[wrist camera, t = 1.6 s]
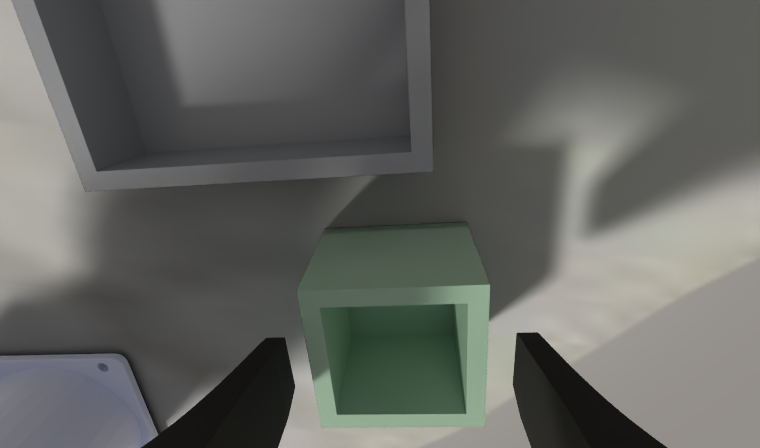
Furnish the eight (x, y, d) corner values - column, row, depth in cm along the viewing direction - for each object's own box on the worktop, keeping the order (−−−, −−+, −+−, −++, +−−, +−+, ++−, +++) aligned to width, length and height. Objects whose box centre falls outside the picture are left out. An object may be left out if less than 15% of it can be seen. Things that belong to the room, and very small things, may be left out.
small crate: (341, 340, 18) (321, 427, 13) (325, 228, 15) (296, 291, 11) (465, 337, 17) (484, 426, 13) (466, 221, 15) (490, 284, 11)
